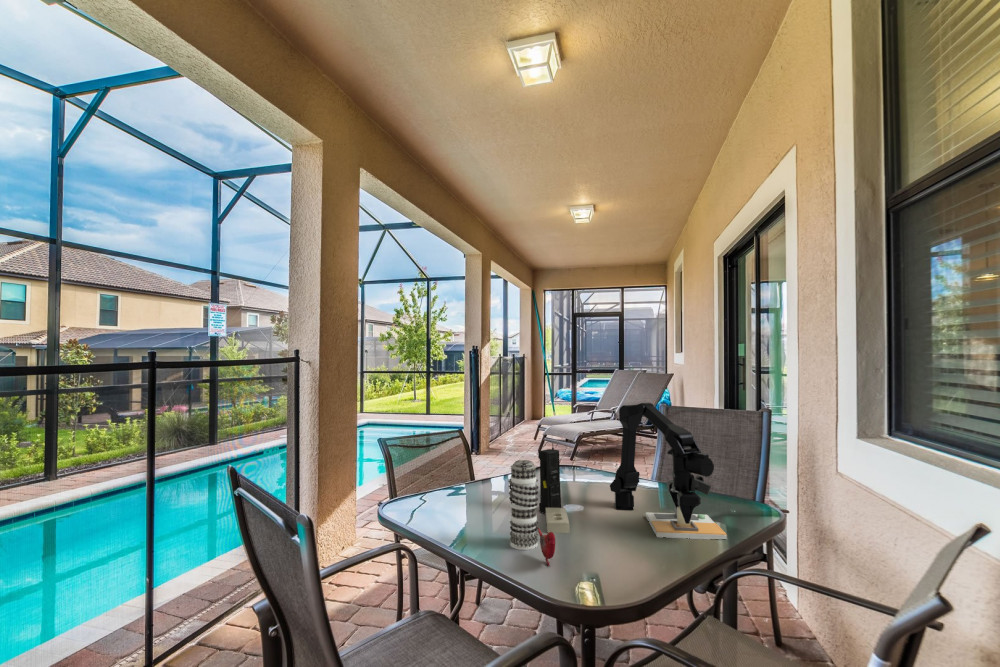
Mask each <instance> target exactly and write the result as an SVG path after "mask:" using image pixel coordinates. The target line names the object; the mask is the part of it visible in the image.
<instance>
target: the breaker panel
mask: <svg viewBox="0 0 1000 667" xmlns="http://www.w3.org/2000/svg"><path fill="white" fill-rule="evenodd" d="M645 518H646V519H647V522H648V521H649V522H648V524H649V525H650V527H651V529H652V530H653V533H654V534H655V535H656V538H663V537H666V538H665V539H667V538H669V539H686V538H688V539H689V538H690V539H691V540H692V539H693V540H710V539H727V540H728V535H727V533H726V532H725V530H723V529H722V528H721V527H720V526H719V525H718V524H717V523H716V522H715V521H714V520H713V519H712V518H711V517H710V516H709V515H708V514H702V513H697V514H695V513H692V515H691V519H690V526H691V528H687V527H677V517H676V515H675V513H671V512H670V513H667V512H645ZM688 539H687V540H688ZM690 539H689V540H690Z"/></svg>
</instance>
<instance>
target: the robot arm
mask: <svg viewBox="0 0 1000 667" xmlns="http://www.w3.org/2000/svg"><path fill="white" fill-rule="evenodd" d="M618 416H619V417H618V420H619V422H620V424H621V426H622V439H621V440H622V441H621V455H620V456H621V457H620V458H621V459H620V465H619V466H618V468H617V469H616V471H615V476H614V479H613V480H612V482H611V483H610V484H609V487H610V488H609V489H610V491H611V492H613V493H614V503H613V504H614V507H615V510H620V511H621V510H622V511H623V510H624V511H633V510H634V507H635V496H634V494H633V492H637V487H638V485H639V483H640V471H637V469H636V467H635V460H636V459H635V458H636V442H637V430H638V427H640V424H641V423H642V419H643V417H644V418H646V419H647V420H648V421H649V422H650V423H651V424H652V425H653V426H654V427H655V428H657V429H658V430H659V431H660V432H661V434H663V435H664V440H665V442H666V443H667V444H668V445H669V446H670V450H668V451H667V454H668V455H671V456H672V458H671V459H672V470H671V475H672V480H669V481H667V482H666V489H667V490H668V491H667V492H668V493H669V496H670V497H671V501H672V502H673V505H675V507H676V510H677V507H680V510H681V513H682V515H683V518H684V520H685V523H686V524H689V523H690V519H691V515H692V514H693V511H694V509H695V508H696V507H699V506H700V505H701V503H702V500H701V497H700V495H698V494H697V493H696V491H697V492H700V493H703V494H705V495H706V496H708V495H709V494H710V491H711V488H712V485H711V484H710V483H708V482H707V481H705V480H704V477H711V475H712V474H713V472H714V468H715V465H714V462H713V460H712V459H711V458H710V455H709V453H702V450H701V449H700V447H699V445H698V444H697V441H696V440H695V438H694V435H693V433H691V431H689V430H687V429H685V428H684V427H682V426H679V425H677V424H674V423H673V422H672V421H671V420H670V419H668V417H666V415H665V414H663V413H662V412H661V411H659V409H658V408H656V407H655V405H654V404H653V403H652V402H641V403H638V404H624V405H621V407H619V409H618ZM694 474H695V475H696V476H695V475H694Z"/></svg>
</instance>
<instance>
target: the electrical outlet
mask: <svg viewBox="0 0 1000 667" xmlns="http://www.w3.org/2000/svg"><path fill="white" fill-rule="evenodd" d="M545 515H546V516H545V523H546V524H547V525H546V532H548V533H549V532H553V533H569V534H570V520H569V516H568V514H567V510H566V507H562V508H545ZM548 533H547V534H548Z"/></svg>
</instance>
